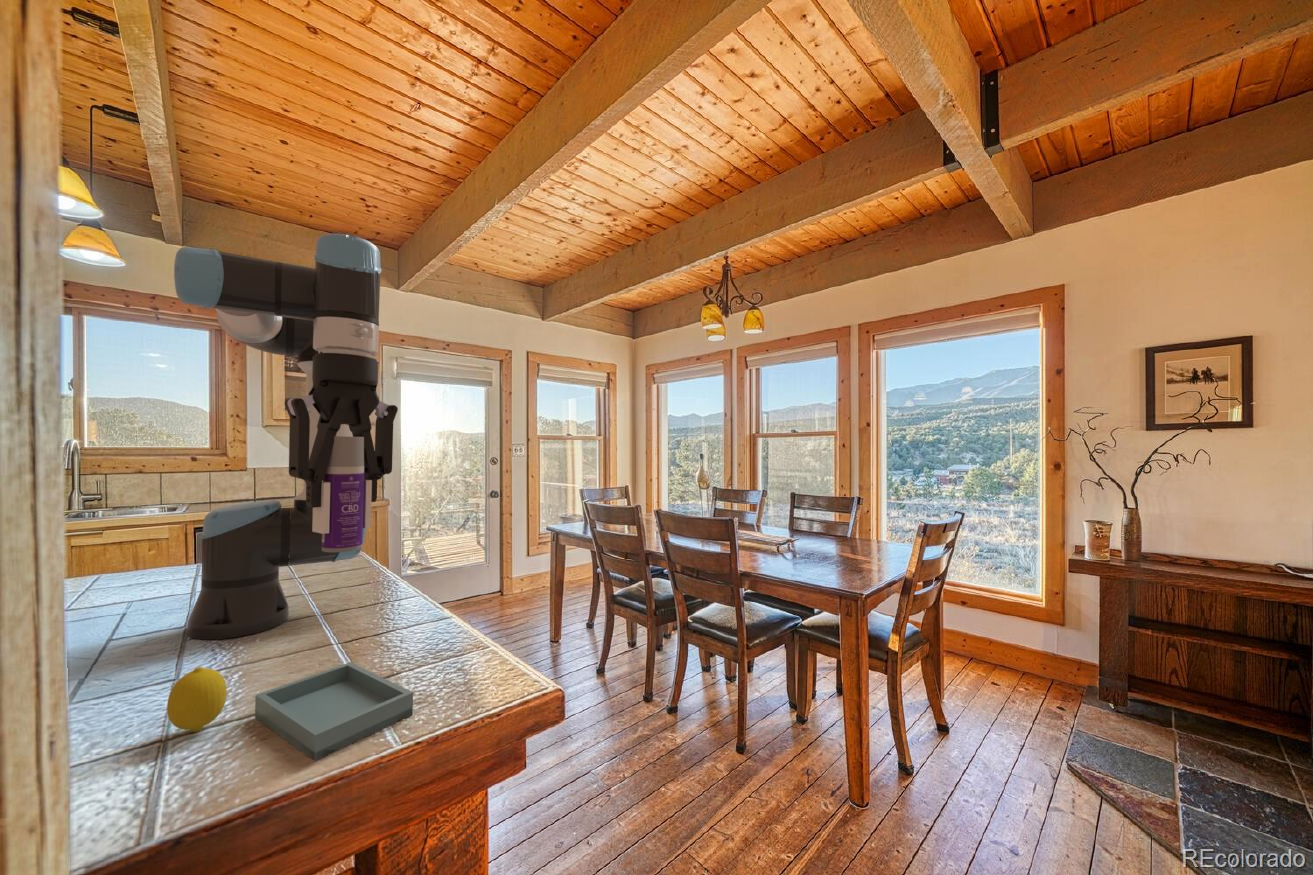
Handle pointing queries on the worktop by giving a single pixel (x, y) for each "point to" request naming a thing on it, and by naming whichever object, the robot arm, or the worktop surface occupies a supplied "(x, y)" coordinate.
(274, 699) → the tray
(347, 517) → the container
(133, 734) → the worktop surface
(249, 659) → the worktop surface
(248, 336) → the robot arm
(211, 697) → the lemon
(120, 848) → the worktop surface
